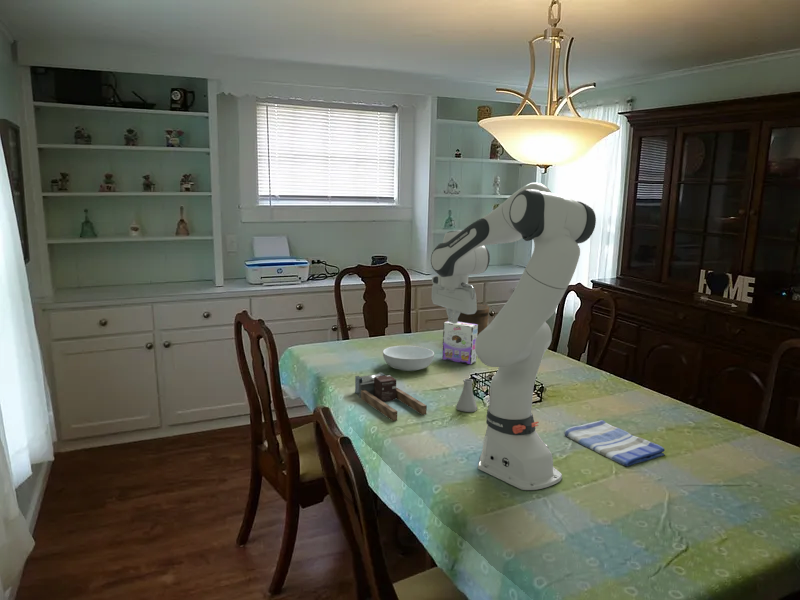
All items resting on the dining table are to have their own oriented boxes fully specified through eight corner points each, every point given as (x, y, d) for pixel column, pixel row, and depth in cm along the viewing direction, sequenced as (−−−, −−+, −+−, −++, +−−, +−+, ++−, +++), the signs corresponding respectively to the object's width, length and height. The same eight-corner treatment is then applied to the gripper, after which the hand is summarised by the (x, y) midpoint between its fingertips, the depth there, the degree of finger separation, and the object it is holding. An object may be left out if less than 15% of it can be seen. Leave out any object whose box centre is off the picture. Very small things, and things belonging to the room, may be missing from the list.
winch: (385, 390, 208) (385, 374, 207) (359, 395, 202) (359, 379, 201) (380, 387, 211) (380, 371, 210) (354, 392, 206) (354, 375, 205)
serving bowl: (444, 370, 233) (444, 354, 232) (401, 379, 221) (401, 361, 220) (414, 357, 250) (414, 342, 249) (372, 365, 238) (373, 348, 237)
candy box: (476, 361, 246) (478, 324, 243) (470, 365, 241) (472, 326, 238) (447, 356, 253) (449, 319, 250) (441, 359, 249) (443, 321, 245)
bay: (426, 414, 187) (426, 399, 186) (393, 421, 181) (393, 406, 180) (390, 391, 207) (390, 378, 206) (358, 397, 201) (359, 383, 200)
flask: (476, 413, 189) (478, 384, 187) (454, 411, 190) (456, 382, 188) (478, 405, 196) (479, 377, 194) (456, 403, 197) (458, 375, 195)
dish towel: (601, 426, 183) (602, 417, 182) (667, 456, 163) (668, 447, 162) (560, 435, 175) (561, 427, 174) (624, 469, 154) (625, 459, 154)
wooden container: (493, 344, 276) (495, 298, 272) (474, 349, 265) (476, 302, 261) (468, 338, 286) (470, 294, 282) (449, 343, 275) (451, 297, 271)
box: (380, 402, 197) (380, 381, 195) (373, 396, 202) (373, 376, 201) (396, 400, 199) (396, 379, 198) (389, 394, 205) (389, 374, 203)
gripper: (482, 284, 179) (480, 328, 182) (444, 275, 196) (442, 315, 199) (466, 286, 176) (464, 330, 178) (428, 277, 193) (427, 317, 196)
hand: (452, 322), depth 189 cm, fingers closed
